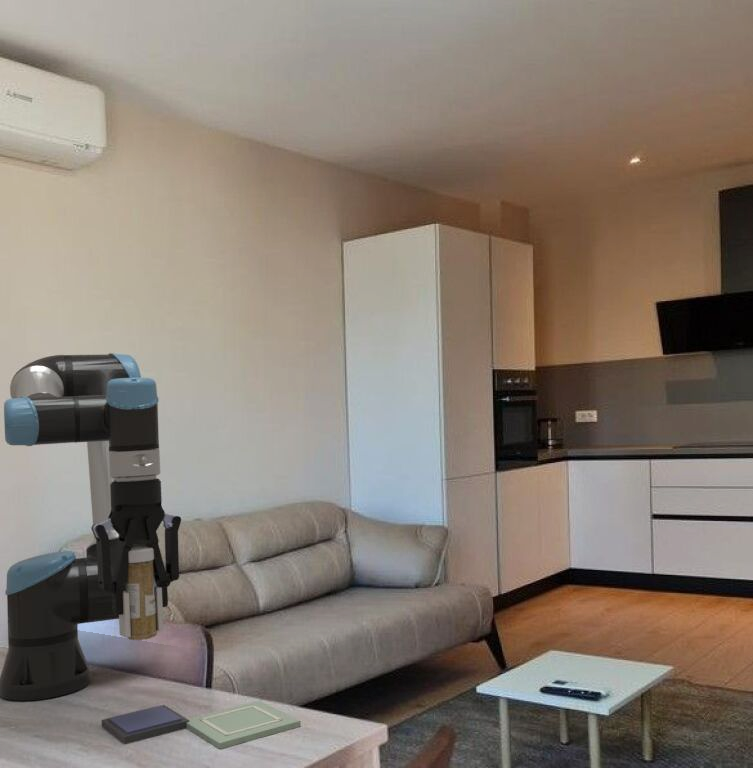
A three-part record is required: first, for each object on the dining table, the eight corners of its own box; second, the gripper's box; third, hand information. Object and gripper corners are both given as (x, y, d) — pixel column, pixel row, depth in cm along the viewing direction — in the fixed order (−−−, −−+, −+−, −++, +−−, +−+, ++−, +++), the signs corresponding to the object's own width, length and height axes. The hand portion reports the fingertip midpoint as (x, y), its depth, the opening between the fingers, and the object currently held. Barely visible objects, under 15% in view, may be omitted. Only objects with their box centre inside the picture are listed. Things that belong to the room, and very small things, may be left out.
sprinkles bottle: (161, 637, 132) (157, 547, 133) (131, 642, 130) (128, 551, 131) (151, 631, 136) (147, 544, 137) (122, 637, 134) (118, 548, 134)
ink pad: (101, 726, 134) (101, 717, 134) (164, 711, 140) (163, 702, 140) (124, 744, 126) (123, 735, 126) (189, 727, 131) (189, 718, 132)
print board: (182, 725, 132) (182, 719, 132) (259, 705, 140) (259, 699, 140) (219, 749, 122) (219, 742, 122) (300, 726, 129) (300, 719, 129)
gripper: (85, 484, 126) (91, 648, 125) (198, 474, 136) (205, 626, 135) (70, 482, 132) (76, 639, 131) (179, 473, 142) (185, 618, 141)
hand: (141, 632), depth 133 cm, fingers closed on sprinkles bottle, 4 cm apart
